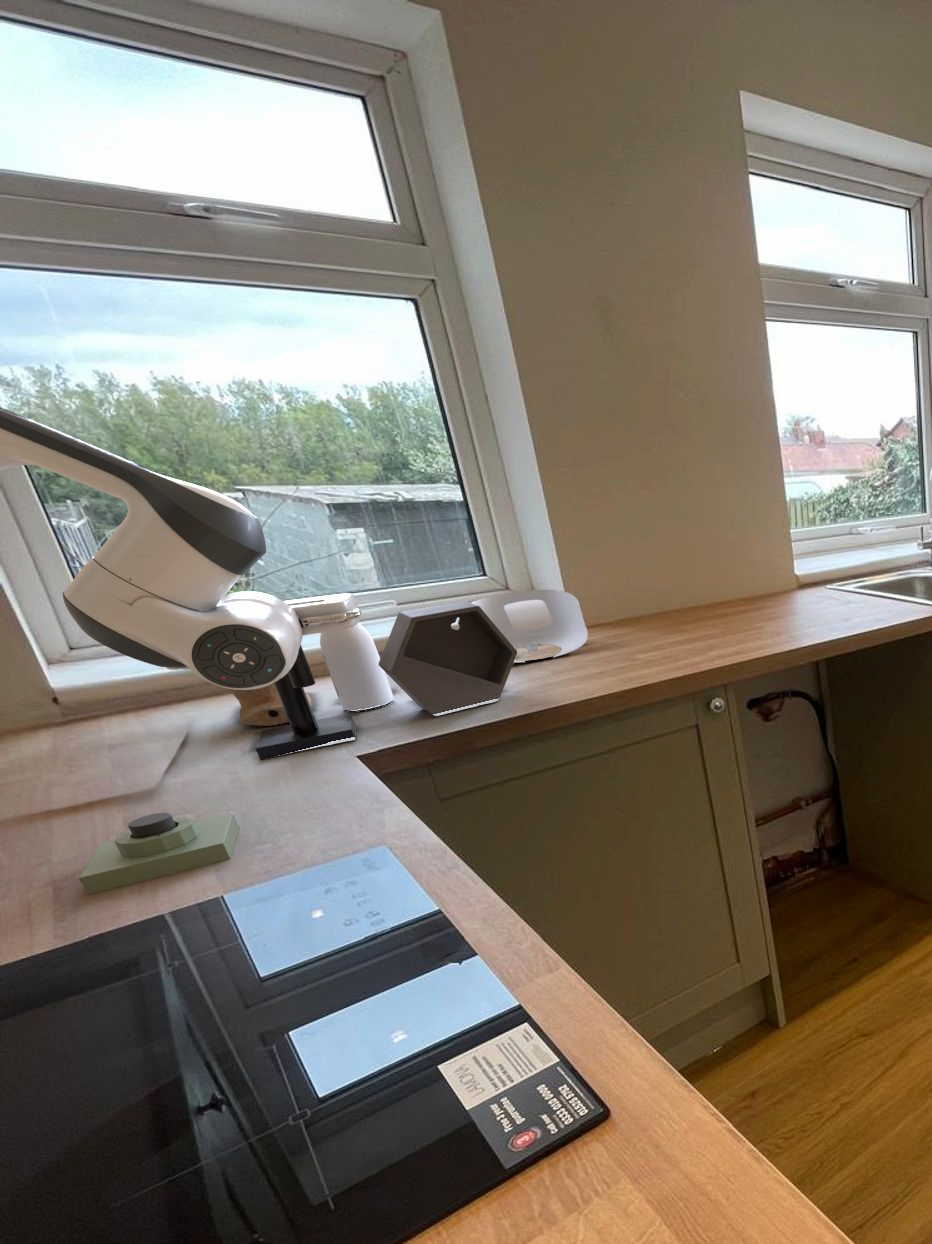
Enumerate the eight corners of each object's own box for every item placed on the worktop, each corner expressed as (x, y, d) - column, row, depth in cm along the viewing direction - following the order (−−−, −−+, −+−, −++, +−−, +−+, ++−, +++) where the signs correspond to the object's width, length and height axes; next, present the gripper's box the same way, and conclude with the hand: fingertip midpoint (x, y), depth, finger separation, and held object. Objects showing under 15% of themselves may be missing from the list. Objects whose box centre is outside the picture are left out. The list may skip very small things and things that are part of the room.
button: (131, 843, 92) (124, 829, 92) (137, 831, 95) (131, 818, 94) (174, 833, 94) (167, 820, 94) (179, 822, 97) (172, 809, 96)
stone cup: (232, 715, 146) (196, 634, 140) (315, 700, 152) (284, 621, 147) (224, 738, 135) (186, 651, 129) (314, 720, 141) (282, 637, 135)
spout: (264, 673, 127) (234, 601, 122) (295, 667, 130) (268, 596, 125) (290, 690, 118) (259, 612, 114) (323, 683, 121) (294, 607, 116)
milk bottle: (405, 699, 150) (368, 592, 143) (365, 714, 144) (324, 602, 136) (373, 697, 152) (335, 591, 145) (332, 711, 146) (290, 601, 138)
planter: (378, 703, 134) (424, 586, 135) (366, 694, 138) (410, 581, 139) (487, 730, 147) (528, 623, 148) (473, 721, 152) (513, 618, 153)
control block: (87, 895, 89) (70, 863, 88) (108, 859, 97) (92, 830, 95) (230, 859, 96) (216, 829, 94) (239, 828, 103) (227, 800, 101)
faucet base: (260, 760, 125) (204, 630, 117) (265, 741, 132) (213, 618, 124) (355, 740, 131) (309, 616, 123) (355, 724, 139) (312, 606, 131)
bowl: (570, 636, 192) (558, 586, 187) (593, 651, 178) (581, 597, 174) (474, 653, 180) (458, 600, 176) (491, 670, 166) (474, 614, 162)
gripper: (352, 590, 100) (352, 576, 110) (123, 618, 89) (147, 599, 99) (369, 640, 103) (368, 621, 113) (148, 673, 92) (169, 649, 102)
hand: (263, 611), depth 106 cm, fingers open, 8 cm apart
